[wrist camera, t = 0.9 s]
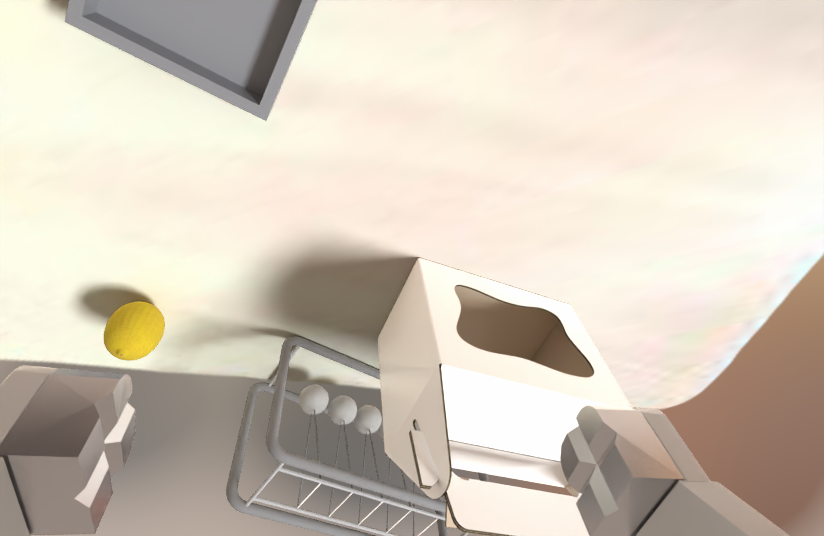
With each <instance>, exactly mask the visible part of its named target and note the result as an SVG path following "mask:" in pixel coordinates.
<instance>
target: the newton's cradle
mask: <svg viewBox="0 0 824 536" xmlns="http://www.w3.org/2000/svg"><path fill="white" fill-rule="evenodd" d="M294 345H297V346H296V348H295V349H294V350H293V352H292V353H291V348H292V346H294ZM299 347H302V348H305V349H307V350H310V351H312V352H315V353H317V354H319V355H322V356H324V357H327V358H329V359H331V360H334V361H336V362H339V363H341V364H344V365H346V366H348V367H351V368H353V369H356V370H358V371H360V372H363V373H365V374H368V375H370V376H373V377H375V378H377V379H380V370H378V369H376V368H373V367H371V366H369V365H366V364H364V363H361V362H359V361H357V360H354V359H352V358H350V357H347V356H345V355H342V354H340V353H338V352H335V351H333V350H331V349H328V348H326V347H323V346H321V345H319V344H316V343H314V342H312V341H309V340H307V339H304V338H302V337H298V336H292V337H289V338H287V339H286V340H285V341H284V343H283V345H282V350H281V355H280V361H279V367H278V372H277V373H276V375H275V376H274V377H273V379H272V380H271V381H270V383H269V384H268V383H257V384H254V385H253V386H252V387H251V388H250V390H249V392H248V396H247V401H246V405H245V410H244V414H243V418H242V423H241V427H240V431H239V436H238V440H237V444H236V449H235V453H234V457H233V461H232V466H231V470H230V474H229V479H228V483H227V489H226V494H227V499H228V501H229V503H230V504H231V506H232V507H233V508H235V509H236V510H237V511H239V512H242V513H245V514H249V515H253V516H257V517H261V518H265V519H268V520H273V521H277V522H280V523H285V524H288V525H292V526H296V527H300V528H304V529H308V530H312V531H316V532H320V533H323V534H327V535H331V536H375V535H371V534H367V533H364V532H360V531H356V530H352V529H348V528H345V527H341V526H337V525H334V524H329V523H326V522H322V521H318V520H315V519H311V518H307V517H304V516H300V515H296V514H292V513H288V512H285V511H281V510H277V509H273V508H269V507H266V506H262V505H258V504H255V503H251V502H252V501H253V500H255V501H258V502H262V503H266V504H270V505H273V506H278V507H281V508H284V509H288V510H292V511H296V512H299V513H303V514H307V515H311V516H314V517H318V518H322V519H326V520H329V521H333V522H337V523H340V524H344V525H348V526H352V527H355V528H359V529H363V530H367V531H370V532H374V533H378V534H381V535H385V536H400V535H396V534H392V533H388V531H389V530H390V529H392V528H393V527H394V526H395V525H396V524H397V523H398V522H399V521H400V520H402V519H403V518H404V517H405V516H406V515H407V514H408V513H409V512H411V511H413V536H414V517H415V515H414V514H415V512H418V513H422V514H425V515H428V516H431V517H435V518H437V523H438V530H439V536H448V533H447V527H445V514H444V513H446V502H444V501H442V497H441V498H438V499H432V498H430V497H428V496H425V495H422V494H419V493H416V492H415V483H414V491H413V492H412V491H410V490H407V488H406V484H405V480H404V476H403V471H402V469H401V473H402V477H403V481H404V485H405V489H403V488H400V487H397V486H394V485H391V484H390V469H391V458H390V464H389V484H387V483H384V482H381V481H379V475H378V470H377V465H376V459H375V453H374V448H373V443H372V437H371V433H373V432H378V433H379V435H380V437H381V438H382V439H383V440H384V431H383V418H382V417H381V413H380V411H379V410H378V409H377V408H376V407H374V406H373V405H364V406H361V407H360V408H359V409H358V410H357V405H356V403H355V401H354V400H353V399H352V398H351V397H349V396H345V395H341V396H337V397H336V398H334V399H333V400H332V401H331V403H330V405H329V406H328V401H329V396H328V393H327V391H326V389H325V388H323V387H322V386H320V385H318V384H311V385H308V386H306V387H305V388H304V389H303V390H302V392H301V393H300V395H299V394H296V393H293V392H290V391H288V390H285V387H286V381H287V374H288V367H289V361H290V359H291V358H292V357H293V355H294V354H295V353H296V351H297V350H298V349H299ZM275 380H276V384H275V386H274V385H272V384H273V382H274V381H275ZM260 391H264V392H268V393H270V394H273V395H274V396H273V401H272V407H271V413H270V418H269V425H268V430H267V436H266V444H267V447H268V450H269V452H270V453H271V455H272V456H273V457H274V458H275V459H276V460H278V461H279V462H280V463H279V464H278V466H277V467H276V468H275V469H274V471H272V473H271V474H270V475H269V476H268V477H267V479H266V480H265V481H264V482H263V483H262V485H261V486H260V487H259V488H258V489H257V491H256V492H255V493H254V494H253V495H252V496H251V498H250V499H249V500H248V501H245V500H243V499H242V498H241V497H240V496H239V494H238V491H237V488H238V483H239V478H240V473H241V468H242V464H243V459H244V454H245V450H246V445H247V440H248V435H249V431H250V426H251V421H252V416H253V412H254V407H255V402H256V397H257V393H258V392H260ZM284 399H287V400H290V401H292V402H295V403H298V404H299V405H300V407H301V409H302V410H303V411H304V412H306V413H307V414H311V418H310V425H309V431H308V439H307V445H306V451H305V457H303V456H299V455H296V454H293V453H290V452H288V451H285V450H284V449H283V448H282V447H281V446H280V444H279V442H278V433H279V427H280V420H281V414H282V407H283V401H284ZM321 412H323V413H326V414H328V415H329V417H330V419H331V420H332V421H333V422H334V423H336V424H338V425H340V432H339V440H340V433H341V425H344V430H345V439H346V447H347V456H348V464H349V471H347V470H344V469H340V468H337V467H336V464H337V457H338V448H339V440H338V446H337V454H336V462H335V467H334V466H331V465H328V464H325V463H321V462H320V461H319V450H318V437H317V426H316V414H319V413H321ZM312 415H314V416H315V429H316V442H317V454H318V461H315V460H312V459H309V458H306V454H307V447H308V440H309V433H310V427H311V419H312ZM349 423H353V424H354V425H355V427H356V428H357V430H358V431H360V432H361V433H364V434H366V439H365V451H364V463H363V475H359V474H356V473H353V472H351V470H350V462H349V454H348V445H347V437H346V429H345V425H346V424H349ZM415 427H416V429H417V431H421V430H420V428H419V425H418V423H415ZM367 434H370V438H371V444H372V449H373V455H374V460H375V466H376V472H377V477H378V480H375V479H372V478H368V477H365V476H364V465H365V454H366V442H367ZM284 464H286V465H290V466H293V467H296V468H299V469H303V471H302V473H299V472H296V471H293V470H289V469H286V468H283V467H282V466H283V465H284ZM304 470H306V471H309V472H313V473H316V474H319V478H316V477H312V476H309V475H306V474H304ZM278 471H281V472H284V473H288V474H291V475H294V476H298V477H301V486H300V492H299V498H298V506H297V507H293V506H289V505H286V504H282V503H278V502H275V501H271V500H267V499H263V498H260V497H256V496H257V495H258V494H259V493H260V492H261V490H262V489H263V488H264V487H265V486H266V485H267V483H268V482H269V481H270V480H271V479H272V477H273V476H274V475H275V474H276V473H277V472H278ZM478 474H479V478H480V481H485V482H489V479H488V475H487V474H486V473H480V472H478ZM321 475H322V476H326V477H329V478H332V479H333V483H332V482H329V481H326V480H322V479H321ZM303 478H305V479H308V480H311V481H315V482H318V483H320V484H324V485H328V486H331V487H332V493H331V500H330V509H329V515H328V516H326V515H322V514H319V513H315V512H311V511H308V510H304V509H300V508H299V506H300V505H301V504H302V503H303V502H304V501H305V500H306V499H307V498H308V497H309V496H310V495H311V493H313V492H314V490H315V489H314V490H313V491H312V492H311V493H310V494H309V496H308V497H307V498H306V499H305V500H304V501H303V502H302V503H301V504H300V505H299V500H300V494H301V487H302V481H303ZM334 480H339V481H342V482H345V483H348V484H351V488H349V487H345V486H342V485H339V484H335V483H334ZM320 484H319V485H320ZM319 485H318V486H319ZM352 485H355V486H358V487H361V491H358V490H355V489H353V487H352ZM318 486H317V487H318ZM317 487H316V488H317ZM334 487H335V488H338V489H342V490H345V491H348V492H351V494H352V493H355V494H358V495H361V498H360V509H359V521H358V524H355V523H352V522H348V521H344V520H341V519H337V518H333V517H330V515H331V514H332V513H333V512H334V511H335V510H336V509H337V508H338V507H339V506H340V505H341V504H342V503H343V502H342V503H341V504H340V505H339V506H338V507H337V508H336V509H335V510H334V511H333V512H332V513H331V514H330V512H331V504H332V496H333V488H334ZM363 488H365V489H368V490H371V491H375V492H378V493H380V494H381V497H378V496H375V495H372V494H369V493H365V492H362V489H363ZM351 494H350V495H351ZM382 494H384V495H388V499H385V498H383V497H382ZM350 495H349V496H350ZM349 496H348V497H349ZM362 496H365V497H368V498H371V499H375V500H378V501H381V503H383V502H385V503H388V508H387V529H386V532H385V531H381V530H378V529H374V528H370V527H367V526H363V525H359V524H360V523H361V522H362V521H364V520H365V519H366V518H367V517H368V516H369V515H370V514H371V513H372V512H373V511H374V510H375V509H376V508H377V507H378V506H379V505H380V504H381V503H380V504H379V505H378V506H377V507H376V508H375V509H374V510H373V511H372V512H371V513H370V514H369V515H368V516H367V517H365V518H364V519H363V520H362V521H361V522H360V513H361V501H362ZM389 496H391V497H394V498H397V499H401V500H404V501H407V502H409V506H408V505H405V504H402V503H398V502H395V501H392V500H389ZM346 499H347V498H346ZM344 501H345V500H344ZM410 503H413V507H412V506H411V505H410ZM389 504H392V505H395V506H398V507H402V508H405V509H408V510H410V511H409V512H408V513H407V514H406V515H405V516H404V517H403V518H401V519H400V520H399V521H398V522H397V523H396V524H395V525H394V526H393V527H391V528H390V529H389V530H388V514H389ZM415 504H417V505H420V506H424V507H427V508H430V509H433V510H435V512H436V514H435V513H431V512H428V511H425V510H421V509H418V508H415ZM435 521H436V520H435ZM435 521H434V522H435ZM434 522H433V523H434ZM430 525H432V524H430ZM430 525H429V526H430ZM429 526H428V527H429ZM428 527H427V528H428ZM427 528H426V529H427ZM426 529H425V530H426ZM425 530H423V531H425ZM423 531H422V532H423ZM422 532H421V533H422ZM421 533H420V534H421ZM420 534H419V535H420ZM467 534H468V533H466V532H464V533H463V534H461V535H460V536H466V535H467ZM419 535H418V536H419Z"/></svg>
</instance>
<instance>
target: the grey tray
mask: <svg viewBox="0 0 824 536" xmlns="http://www.w3.org/2000/svg"><path fill="white" fill-rule="evenodd" d="M317 1H318V0H69V3H68V8H67V13H66V18H65V22H66V23H68V24H70V25H72V26H75V27H77V28H79V29H81V30H83V31H85V32H87V33H89V34H91V35H93V36H95V37H97V38H99V39H101V40H103V41H105V42H107V43H109V44H111V45H113V46H115V47H117V48H119V49H121V50H123V51H125V52H127V53H129V54H131V55H133V56H135V57H137V58H139V59H141V60H144V61H146V62H148V63H150V64H152V65H154V66H156V67H158V68H160V69H162V70H164V71H166V72H168V73H170V74H172V75H174V76H176V77H178V78H180V79H182V80H184V81H186V82H188V83H190V84H192V85H194V86H196V87H198V88H200V89H202V90H204V91H206V92H208V93H210V94H213V95H215V96H217V97H219V98H221V99H223V100H225V101H227V102H229V103H231V104H233V105H235V106H237V107H239V108H241V109H243V110H245V111H247V112H249V113H251V114H253V115H255V116H257V117H259V118H261V119H263V120H265V121H266V120H267V118H268V116H269V114H270V112H271V110H272V108H273V105H274V103H275V100H276V98H277V96H278V93H279V91H280V89H281V86H282V84H283V81H284V79H285V77H286V74H287V72H288V70H289V67H290V65H291V63H292V60H293V58H294V55H295V53H296V51H297V48H298V46H299V44H300V41H301V39H302V37H303V34H304V32H305V29H306V27H307V25H308V22H309V20H310V18H311V15H312V13H313V11H314V8H315V6H316V3H317Z"/></svg>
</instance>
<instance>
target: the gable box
mask: <svg viewBox="0 0 824 536" xmlns="http://www.w3.org/2000/svg"><path fill="white" fill-rule="evenodd" d="M378 350H379V366H380V382H381V399H382V413H383V431H384V446H385V454H386V455H387V456H389V457H390V458H391V459H392V460H393V461H394V462H395V463H396V464H397V465H398V466H399V467H400V468H401V469H402V470H403V471H404V472H405V473H406V474H407V475H408V476H409V477H410V478H411V479H412V480H413V481H414V483H415V484H417V486H418V487H420V489H421V490H422V491H424V492H425V493H426V495H427V496H428V497H430V498H432V499H438V498H441V497H442V496H445V499H446V514H445V527H452V528H458V529H459V530H461V531H463V532H466V533H473V534H480V535H488V536H589V534H588V531H587V529H586V526H585V524H584V522H583V519H582V517H581V514H580V512H579V510H578V507H577V505H576V502H577V498H578V494H579V493H578V492H577V491H576V490H575V489H574V488H573V487H572V486H571V485H570V484H569V483H568V482H567V480H566V478H565V475H564V473H563V470H562V465H561V460H560V456H561V444H562V442H563V440H564V438H565V436H566V434H567V433H568V432H569V431H571V430H573V429H574V428H576V427H577V426H578V423H577V420H576V416H577V414H578V413H579V411H580V409H581V408H583V407H585V406H586V405H600V406H618V407H631V405H630V403H629V402H628V400H627V398H626V396H625V395H624V393H623V391H622V390H621V388H620V386H619V385H618V383H617V381H616V380H615V378H614V376H613V375H612V373H611V371H610V370H609V368H608V366H607V365H606V363H605V361H604V359H603V358H602V356H601V354H600V353H599V351H598V349H597V348H596V346H595V344H594V343H593V341H592V339H591V338H590V336H589V334H588V333H587V331H586V329H585V328H584V326H583V324H582V322H581V321H580V319H579V317H578V316H577V314H576V312H575V311H574V309H573V307H572V306H571V305H570V304H566V303H563V302H560V301H557V300H554V299H550V298H547V297H544V296H541V295H538V294H534V293H531V292H528V291H525V290H522V289H518V288H515V287H512V286H509V285H506V284H502V283H499V282H496V281H493V280H489V279H486V278H483V277H480V276H477V275H473V274H470V273H467V272H464V271H461V270H457V269H454V268H451V267H448V266H445V265H441V264H438V263H435V262H432V261H429V260H425V259H422V258H418V259H417V261H416V263H415V265H414V267H413V269H412V271H411V273H410V275H409V277H408V279H407V281H406V283H405V285H404V287H403V289H402V291H401V293H400V295H399V297H398V299H397V301H396V303H395V305H394V307H393V309H392V311H391V313H390V315H389V317H388V319H387V321H386V323H385V325H384V327H383V329H382V331H381V333H380V335H379V337H378ZM631 408H632V407H631ZM415 420H417V423H418V425H419V428H420V430H421V431H417V429H416V427H415ZM452 468H458V469H464V470H469V471H474V472H480V473H486V474H491V475H497V476H503V477H509V478H514V479H520V480H525V481H531V482H537V483H542V484H548V485H553V486H559V487H565V488H566V489H567V490H568V491H569V492H570V493H571V494H572V495H573V496H574V497H572V496H566V495H560V494H555V493H549V492H543V491H537V490H531V489H525V488H520V487H514V486H508V485H503V484H497V483H491V482H485V481H479V480H473V479H467V478H466V477H460V478H459V477H458V476H456V475H455V474H454V473H453V472H452Z"/></svg>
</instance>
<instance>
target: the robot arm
mask: <svg viewBox="0 0 824 536" xmlns="http://www.w3.org/2000/svg"><path fill="white" fill-rule="evenodd" d="M132 391H133V389H132V383H131V377H130V376H129V375H127V374H120V373H108V372H97V371H87V370H76V369H65V368H48V367H37V366H25V365H22V366H20V367H19V368H17V369H16V370H14V371H12V372H11V373H10V374H9V375H8V376H7V378H6V379H5V380H4V382H3V383H2V384H1V385H0V536H30V535H62V534H95V533H96V531H97V528H98V526H99V524H100V521H101V519H102V517H103V515H104V512H105V510H106V508H107V506H108V503H109V501H110V499H111V496H112V494H113V490H112V483H111V477H112V476H113V475H115V474H116V473H117V472H119V471H120V470H121V469H123V468H124V466H125V464H126V461H127V459H128V457H129V454H130V452H131V448H132V444H133V440H134V436H135V429H136V414H135V409H134V408H133V407H132V406H131V405H130V404H128V403H127V402H128V399H129V397H130V395H131V393H132ZM576 420H577V423H578V426H577V427H576V428H574V429H573V430H571V431H569V432H568V433H567V434H566V436H565V438H564V440H563V442H562V444H561V456H560V460H561V465H562V470H563V473H564V475H565V478H566V480H567V482H568V483H569V484H570V485H571V486H572V487H573V488H574V489H575V490H576V491H577V492H578V493H579V494H578V498H577V502H576V505H577V507H578V510H579V512H580V514H581V517H582V519H583V522H584V524H585V526H586V529H587V531H588V534H589V536H789V535H788V534H787V533H785V532H784V531H783V530H781V529H780V528H779V527H777V526H776V525H775V524H773V523H772V522H771V521H769V520H768V519H767V518H765V517H764V516H763V515H761V514H760V513H759V512H757V511H756V510H755V509H753V508H752V507H750V506H749V505H748V504H747V503H745V502H744V501H743V500H741V499H740V498H739V497H737V496H736V495H735V494H733V493H732V492H730V491H729V490H728V489H727V488H725V487H724V486H723V485H721V484H720V483H719V482H711V481H710V480H709V478H708V477H707V475H706V474H705V472H704V471H703V469H702V468H701V466H700V465H699V463H698V462H697V461H696V459H695V458H694V456H693V455H692V453H691V452H690V450H689V449H688V447H687V446H686V445H685V443H684V441H683V440H682V439H681V438H680V436H679V434H678V433H677V431H676V430H675V429H674V427H673V425H672V424H671V423H670V421H669V420H668V418H667V417H666V415H665V414H664V413H662V412H661V411H660V410H658V409H650V408H631V407H618V406H600V405H586V406H585V407H583V408H581V409H580V411H579V413H578V414H577V416H576Z"/></svg>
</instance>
